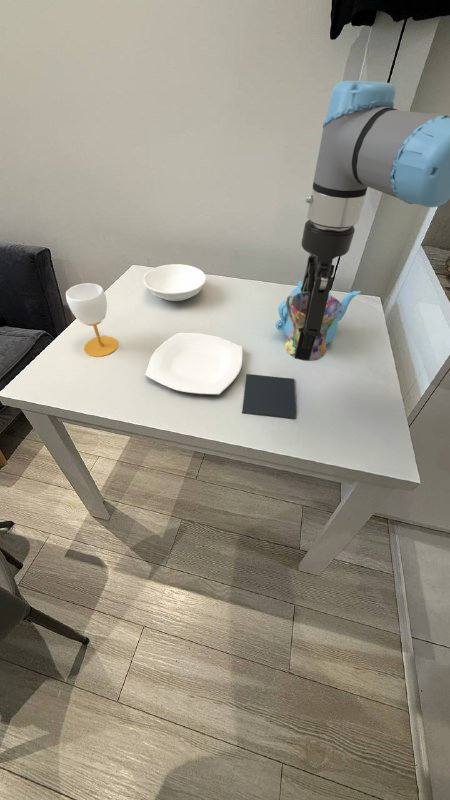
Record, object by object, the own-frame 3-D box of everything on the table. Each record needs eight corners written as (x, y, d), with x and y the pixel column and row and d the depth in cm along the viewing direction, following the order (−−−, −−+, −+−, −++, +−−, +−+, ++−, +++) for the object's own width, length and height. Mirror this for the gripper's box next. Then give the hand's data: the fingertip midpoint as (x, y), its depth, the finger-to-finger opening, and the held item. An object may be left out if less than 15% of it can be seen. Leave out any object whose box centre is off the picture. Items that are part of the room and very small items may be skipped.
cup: (76, 351, 87) (55, 295, 75) (98, 333, 93) (82, 279, 81) (103, 360, 84) (86, 305, 73) (125, 341, 90) (112, 287, 79)
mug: (336, 355, 66) (353, 308, 58) (302, 371, 62) (315, 324, 54) (297, 325, 73) (307, 280, 65) (264, 338, 69) (270, 292, 61)
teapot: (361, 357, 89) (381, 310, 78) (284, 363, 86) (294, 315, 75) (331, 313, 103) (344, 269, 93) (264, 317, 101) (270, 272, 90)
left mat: (295, 419, 73) (296, 418, 72) (242, 413, 73) (242, 412, 73) (294, 379, 82) (294, 378, 81) (246, 375, 82) (246, 373, 82)
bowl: (210, 284, 115) (210, 266, 110) (200, 314, 101) (200, 295, 96) (155, 279, 116) (152, 261, 111) (138, 309, 102) (134, 290, 97)
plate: (224, 408, 74) (225, 402, 73) (134, 384, 79) (132, 378, 77) (251, 349, 89) (252, 343, 88) (174, 332, 94) (173, 326, 93)
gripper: (303, 199, 57) (282, 313, 74) (309, 249, 42) (282, 376, 59) (346, 203, 57) (316, 316, 73) (368, 253, 42) (324, 381, 58)
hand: (301, 343), depth 66 cm, fingers closed on mug, 9 cm apart
